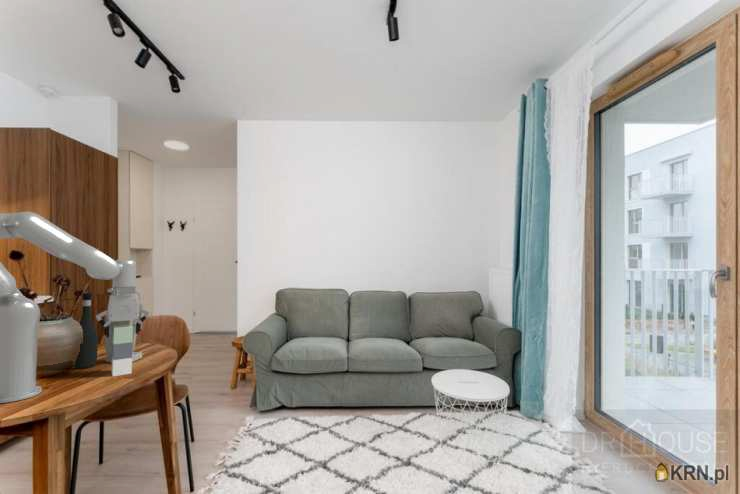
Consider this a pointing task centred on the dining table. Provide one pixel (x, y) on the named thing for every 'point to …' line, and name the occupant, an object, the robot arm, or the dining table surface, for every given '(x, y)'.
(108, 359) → the sculpture
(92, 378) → the dining table surface
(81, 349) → the wine bottle
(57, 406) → the dining table surface
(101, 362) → the dining table surface
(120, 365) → the cream block
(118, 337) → the sage block
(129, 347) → the charcoal block
